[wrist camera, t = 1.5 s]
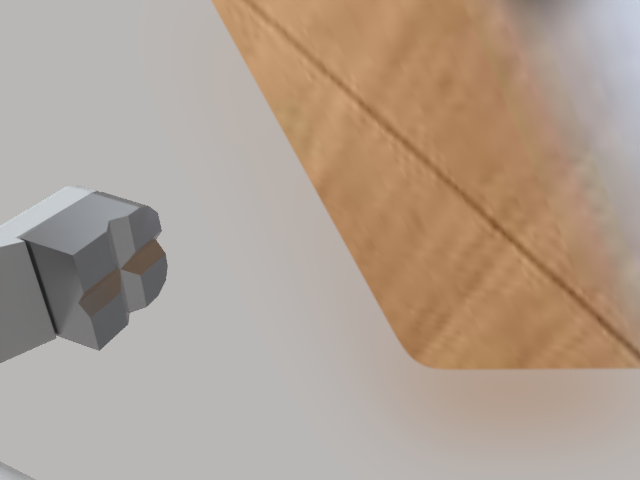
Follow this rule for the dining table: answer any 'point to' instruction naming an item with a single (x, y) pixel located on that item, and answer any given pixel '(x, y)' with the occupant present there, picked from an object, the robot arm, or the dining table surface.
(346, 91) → the dining table surface
